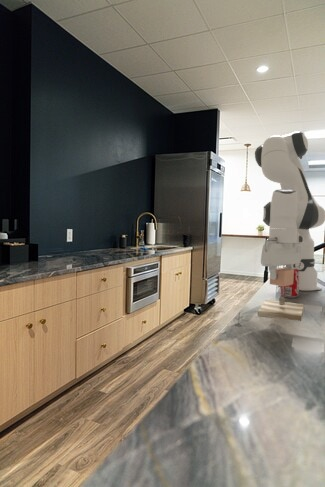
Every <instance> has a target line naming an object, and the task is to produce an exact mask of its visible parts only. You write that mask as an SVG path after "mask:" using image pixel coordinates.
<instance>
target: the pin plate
mask: <svg viewBox="0 0 325 487" xmlns="http://www.w3.org/2000/svg"><path fill="white" fill-rule="evenodd" d="M304 310H305V304H304V303H295V302H290V301H289V302H288V301H287V302H286V297H284V296H281V297H279V300H271V299H270V300H269V299H265V301H264V302H263V303H262V305H261V306H260V307H259V309H258V310H257V316H261V317H262V316H263V317H270V318H276V319H283V320H285V319H286V320H293V321H300V322H301V321H302V319H303V318H302V317H303V315H304Z"/></svg>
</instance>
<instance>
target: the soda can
mask: <svg viewBox="0 0 325 487" xmlns="http://www.w3.org/2000/svg"><path fill="white" fill-rule="evenodd" d="M282 268H286V266H283V267H282ZM293 269H294V279H293V284H292V285H288V286H280V295H281V296H282V297H284V298H289V299H292V298H293V299H295V298H297V297H298V296H299V292H300V290H299V271H298V268H296V267H293Z"/></svg>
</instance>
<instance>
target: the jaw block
mask: <svg viewBox="0 0 325 487" xmlns="http://www.w3.org/2000/svg"><path fill="white" fill-rule="evenodd" d="M276 274H278V279H276V280H273V279H271V274H270V273H269V285H273V286H278V287H281V286H288V285H292V284H293V279H294V269H286V268H283V267H277V269H276Z"/></svg>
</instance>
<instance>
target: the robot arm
mask: <svg viewBox="0 0 325 487" xmlns="http://www.w3.org/2000/svg"><path fill="white" fill-rule="evenodd" d="M308 148H309V140H308V138H307V136H306V135H305V133H303V132H302V131H294V132H293V131H292V132H291V133H289V134H285V135H282V136H280V135H271V136H269V137H267V138H266V139H265V140H264V142H263V144H260V145H259V146H258V147H256V149H255V151H254V158H255V162H256V164H257V165H258V166H259V168H261V170H262V174H263V175H264V177H265V178H266V179H267V180H269V181H270V182H273V183H277V184H280V188H281V189H275V190H274V191H273V192H272V196H271V201H269V202H267V203H266V204H265V205H264V206H263V217H262V219H263V220H262V221H263V222H264V224H265V225H266V226H267V227H269V234H268V237H267V238H266V239H265V241H264V244H263V245H262V249H261V257H260V263H261V266H263V267H268V271H269V275H270V274H271V279H273V280H276V279H278V274H276V269H277V268H278V267H280V266H285V267H286V269H293V267H296V268H298V271H299V291H318V290H319V291H322V288H323V287H321V286H320V285H319V284H318V282H319V279H318V271H317V269H316V268H315V264H316V261H315V257H314V256H315V255H314V254H315V241H314V239H313V238H312V236H311V233H310V229H311V230H312V229H315V228H318V227H320V226H322V225H323V224H324V223H325V209H324V208H323V206H321V205H320V204H319V203H318V202H317V201H316V199H315V197H314V196H313V194H312V192H311V190H310V188H309V184H308V182H307V179H306V175H305V170H304V168H303V164H302V161H301V160H303V157H304V156H305V155H306V153H307V151H308V150H309V149H308Z"/></svg>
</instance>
